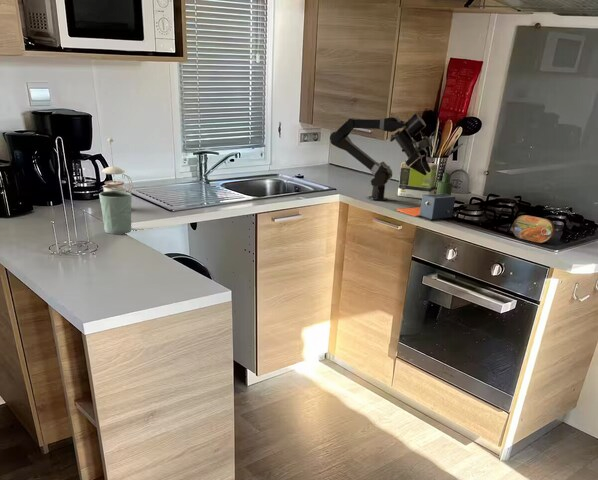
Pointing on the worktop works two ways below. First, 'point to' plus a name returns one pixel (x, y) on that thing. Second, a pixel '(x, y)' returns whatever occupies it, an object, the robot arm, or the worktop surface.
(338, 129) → the robot arm
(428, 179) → the tea box
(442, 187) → the bottle
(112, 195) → the green cup
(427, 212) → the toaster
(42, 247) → the worktop surface
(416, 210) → the mat
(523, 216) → the tin
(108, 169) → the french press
